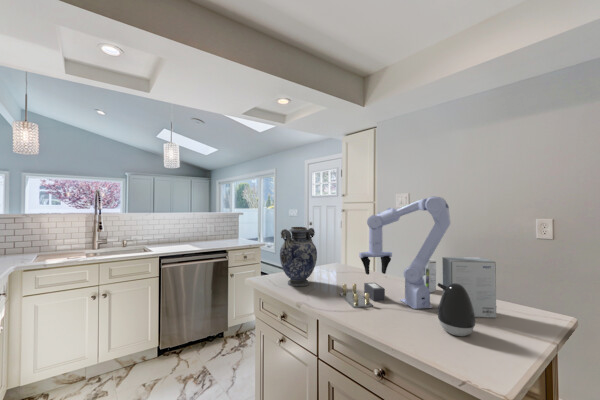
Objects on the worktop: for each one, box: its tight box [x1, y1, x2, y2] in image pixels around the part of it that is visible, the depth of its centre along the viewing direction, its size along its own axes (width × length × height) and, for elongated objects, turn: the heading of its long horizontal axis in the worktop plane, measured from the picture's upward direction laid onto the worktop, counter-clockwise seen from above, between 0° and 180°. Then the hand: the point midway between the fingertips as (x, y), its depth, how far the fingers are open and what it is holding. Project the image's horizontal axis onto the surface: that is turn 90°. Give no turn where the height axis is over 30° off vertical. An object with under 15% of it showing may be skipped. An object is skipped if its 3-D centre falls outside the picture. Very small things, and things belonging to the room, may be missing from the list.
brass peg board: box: [339, 283, 374, 309], centre depth 112 cm, size 16×8×5 cm, turn 11°
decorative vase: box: [279, 226, 318, 287], centre depth 135 cm, size 21×19×28 cm
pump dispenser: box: [437, 282, 476, 337], centre depth 85 cm, size 10×10×15 cm
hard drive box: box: [441, 256, 497, 319], centre depth 100 cm, size 16×8×20 cm, turn 84°
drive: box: [363, 282, 386, 302], centre depth 116 cm, size 9×5×5 cm, turn 11°
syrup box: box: [422, 258, 437, 293], centre depth 126 cm, size 6×6×14 cm
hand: (375, 273), depth 118 cm, fingers open, 7 cm apart
